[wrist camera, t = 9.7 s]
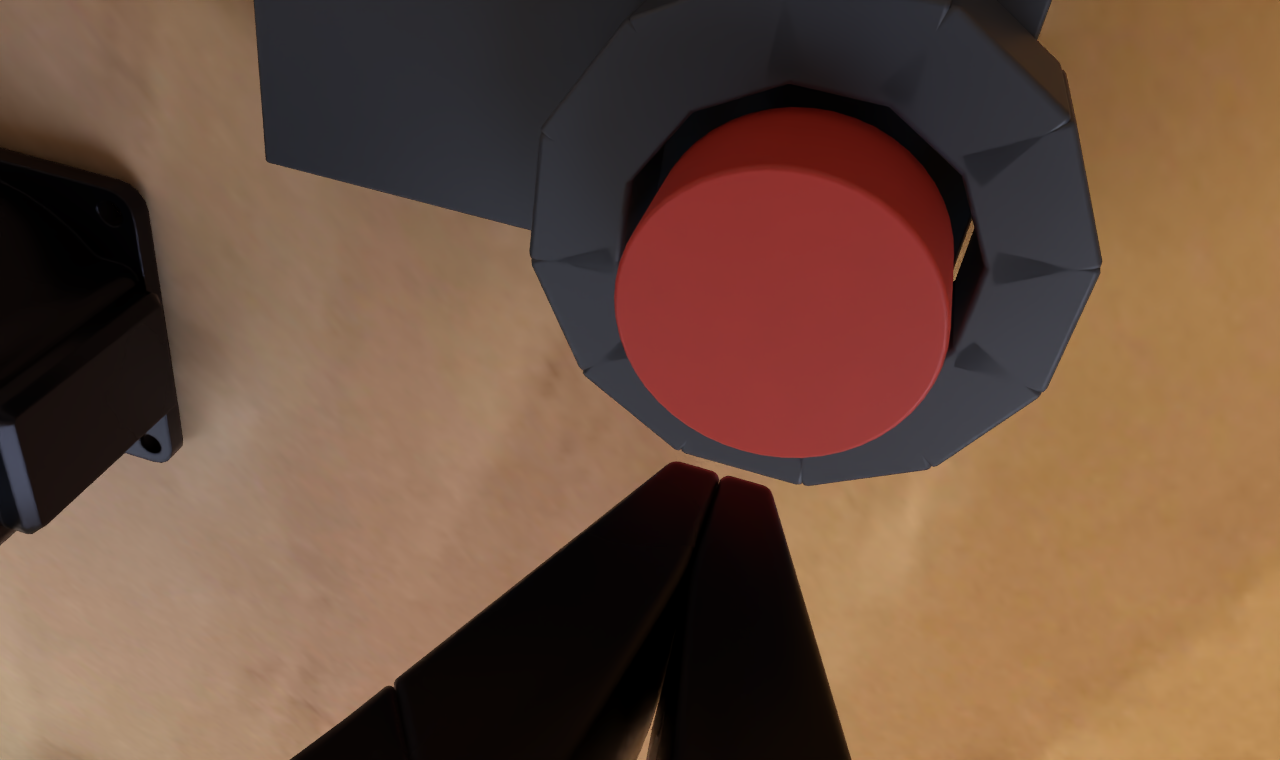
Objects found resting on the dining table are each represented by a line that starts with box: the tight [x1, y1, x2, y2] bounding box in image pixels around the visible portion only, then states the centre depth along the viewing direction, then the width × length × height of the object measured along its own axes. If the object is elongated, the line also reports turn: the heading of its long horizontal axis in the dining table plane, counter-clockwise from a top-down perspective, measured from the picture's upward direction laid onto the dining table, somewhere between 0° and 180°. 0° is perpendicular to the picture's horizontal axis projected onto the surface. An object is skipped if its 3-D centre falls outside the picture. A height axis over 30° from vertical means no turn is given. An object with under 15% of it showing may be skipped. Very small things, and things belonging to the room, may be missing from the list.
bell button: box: [614, 107, 954, 458], centre depth 12 cm, size 4×4×2 cm
